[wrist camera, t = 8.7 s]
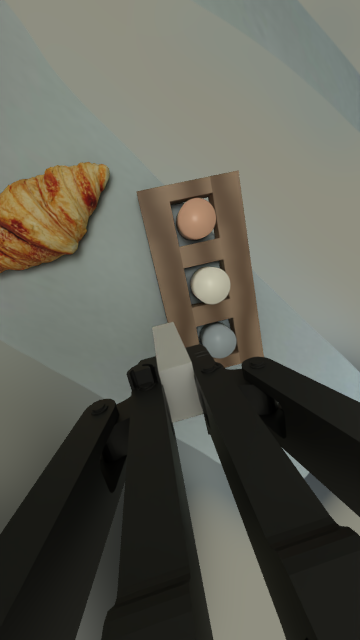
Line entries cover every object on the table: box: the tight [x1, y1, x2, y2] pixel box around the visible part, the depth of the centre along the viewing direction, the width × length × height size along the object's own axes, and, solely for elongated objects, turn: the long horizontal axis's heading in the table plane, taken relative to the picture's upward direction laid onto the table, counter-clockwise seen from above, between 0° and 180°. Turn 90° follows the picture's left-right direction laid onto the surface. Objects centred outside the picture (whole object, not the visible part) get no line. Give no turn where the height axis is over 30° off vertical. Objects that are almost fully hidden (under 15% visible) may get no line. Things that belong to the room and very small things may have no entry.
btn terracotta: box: [176, 198, 216, 240], centre depth 34 cm, size 5×5×4 cm
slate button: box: [200, 322, 236, 358], centre depth 39 cm, size 5×5×4 cm
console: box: [137, 171, 264, 368], centre depth 37 cm, size 14×28×2 cm, turn 13°
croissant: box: [0, 162, 110, 273], centre depth 31 cm, size 21×10×8 cm, turn 130°
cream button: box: [190, 267, 230, 304], centre depth 35 cm, size 5×5×4 cm
